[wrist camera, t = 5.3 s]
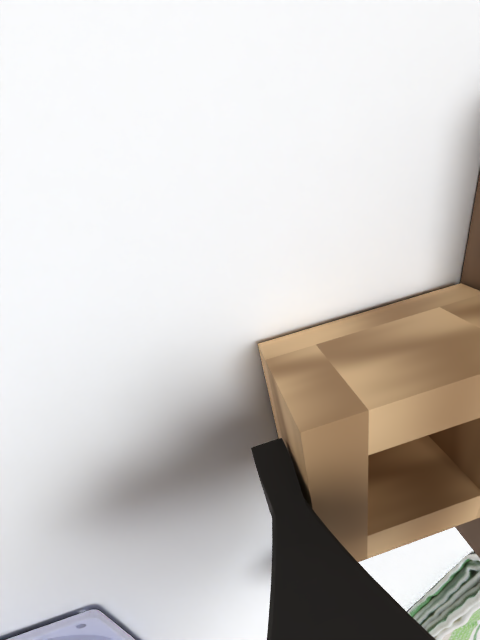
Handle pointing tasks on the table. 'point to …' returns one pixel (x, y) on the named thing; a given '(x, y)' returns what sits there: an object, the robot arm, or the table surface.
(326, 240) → the table surface
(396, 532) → the block
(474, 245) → the wooden plank
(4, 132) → the table surface
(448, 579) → the dish towel
